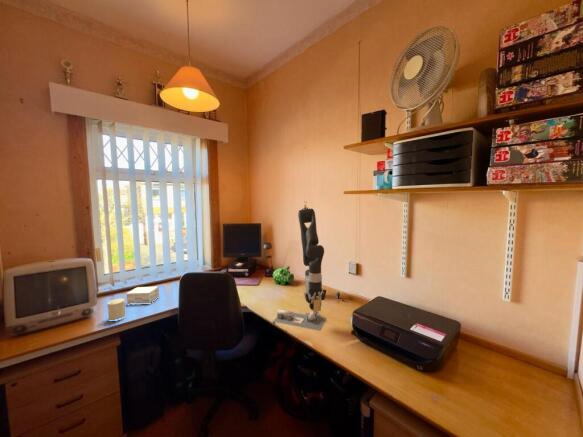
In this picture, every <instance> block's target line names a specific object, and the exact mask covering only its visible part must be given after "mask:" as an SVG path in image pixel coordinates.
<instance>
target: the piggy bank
mask: <svg viewBox="0 0 583 437" xmlns="http://www.w3.org/2000/svg"><path fill="white" fill-rule="evenodd" d="M290 268H291V267H290V265H288V266H287V267H281V268H280V267H279V268H276V269H275V270H274V271H273V273H272V277H273V280H274V284H276V285H281V286H284V285H286V284H289V283H292V282H293V281H294V280H295V275H294V274H293V273H291V271H290Z"/></svg>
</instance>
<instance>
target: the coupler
mask: <svg viewBox="0 0 583 437" xmlns="http://www.w3.org/2000/svg"><path fill="white" fill-rule="evenodd" d="M321 307H322V301H321V299H319V298H318V297H315V298H314V300H313V310H312V309H310V310H311V312H312V311H313V312H321V311H322V308H321Z"/></svg>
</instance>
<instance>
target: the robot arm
mask: <svg viewBox="0 0 583 437" xmlns="http://www.w3.org/2000/svg"><path fill="white" fill-rule="evenodd" d="M297 215H298V224H299V228H300V237H301V238H300V239H301V246H302V247H301V248H302V260H303V261H302V262H303V266H306V267H308V269H306V270H305V272H304V273H305V274H304V276H305V278H304V279H305V284H304V285H305V292H303V295H304V298H305V302H306V303H307V304H309V305H308V307H309V309H310V310H311V309H312V310H313V300H314V298H315V297H318V298H319V299H321V302H322V301H325V298H326V294H327V290H326V289H325V288H322V287H323V285H322V284H323V276H322V263H323V259H324V256H325V248H324V246H323V245H321V244H319V235H318V230H317V218H316V212H315V209H313V208H305V209H300V210H298V214H297ZM309 223H310V224H309ZM306 224H309V226H306ZM312 310H311V311H312Z"/></svg>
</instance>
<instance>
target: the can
mask: <svg viewBox="0 0 583 437" xmlns="http://www.w3.org/2000/svg"><path fill="white" fill-rule="evenodd" d="M125 301H126V299H124V298H116V299H112V300H109V301H108V302H107V313H108V314H107V315H108V321H109V320H115V319H119V318H122V317H124V316H125V315H126V302H125ZM126 316H127V315H126Z"/></svg>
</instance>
